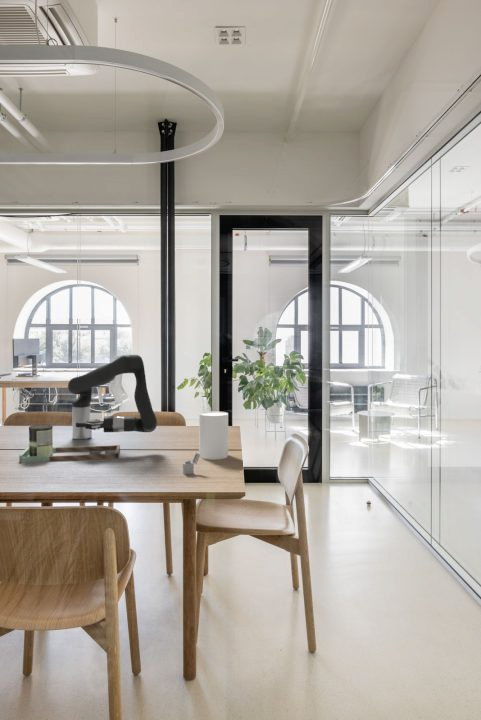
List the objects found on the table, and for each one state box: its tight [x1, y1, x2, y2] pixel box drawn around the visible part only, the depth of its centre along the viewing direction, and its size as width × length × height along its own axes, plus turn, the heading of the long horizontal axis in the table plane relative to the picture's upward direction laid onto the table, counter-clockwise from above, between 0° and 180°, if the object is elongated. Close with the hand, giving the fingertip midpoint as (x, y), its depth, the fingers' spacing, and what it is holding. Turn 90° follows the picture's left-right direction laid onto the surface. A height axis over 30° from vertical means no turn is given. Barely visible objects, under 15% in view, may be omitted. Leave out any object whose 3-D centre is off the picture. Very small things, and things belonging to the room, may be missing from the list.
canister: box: [198, 410, 229, 461], centre depth 235 cm, size 14×14×20 cm
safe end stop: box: [18, 445, 57, 463], centre depth 232 cm, size 13×18×3 cm
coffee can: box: [28, 424, 54, 457], centre depth 232 cm, size 10×10×14 cm
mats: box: [88, 450, 116, 454], centre depth 237 cm, size 12×14×1 cm
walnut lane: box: [18, 444, 121, 463], centre depth 235 cm, size 42×18×2 cm, turn 102°
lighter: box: [182, 452, 200, 476], centre depth 206 cm, size 7×2×8 cm, turn 118°
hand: (76, 424), depth 235 cm, fingers closed
